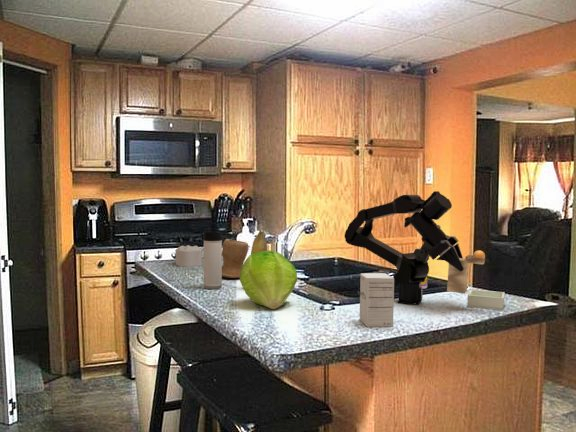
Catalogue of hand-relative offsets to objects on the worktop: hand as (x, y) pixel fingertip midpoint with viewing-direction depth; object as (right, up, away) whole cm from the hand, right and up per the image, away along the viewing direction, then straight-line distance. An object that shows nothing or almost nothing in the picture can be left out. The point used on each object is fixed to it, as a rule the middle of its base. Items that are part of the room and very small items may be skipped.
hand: (463, 269), depth 155 cm
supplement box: (-29, -12, -17) cm, 36 cm away
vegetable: (-62, -10, +29) cm, 69 cm away
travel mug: (-78, -10, +29) cm, 84 cm away
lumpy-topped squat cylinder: (-97, -7, +85) cm, 129 cm away
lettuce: (-57, -11, +4) cm, 59 cm away
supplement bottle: (-5, -10, +34) cm, 35 cm away
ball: (+4, +4, -2) cm, 6 cm away
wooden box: (0, -7, 0) cm, 7 cm away
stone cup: (-74, -9, +53) cm, 92 cm away
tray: (+9, -11, +6) cm, 16 cm away
